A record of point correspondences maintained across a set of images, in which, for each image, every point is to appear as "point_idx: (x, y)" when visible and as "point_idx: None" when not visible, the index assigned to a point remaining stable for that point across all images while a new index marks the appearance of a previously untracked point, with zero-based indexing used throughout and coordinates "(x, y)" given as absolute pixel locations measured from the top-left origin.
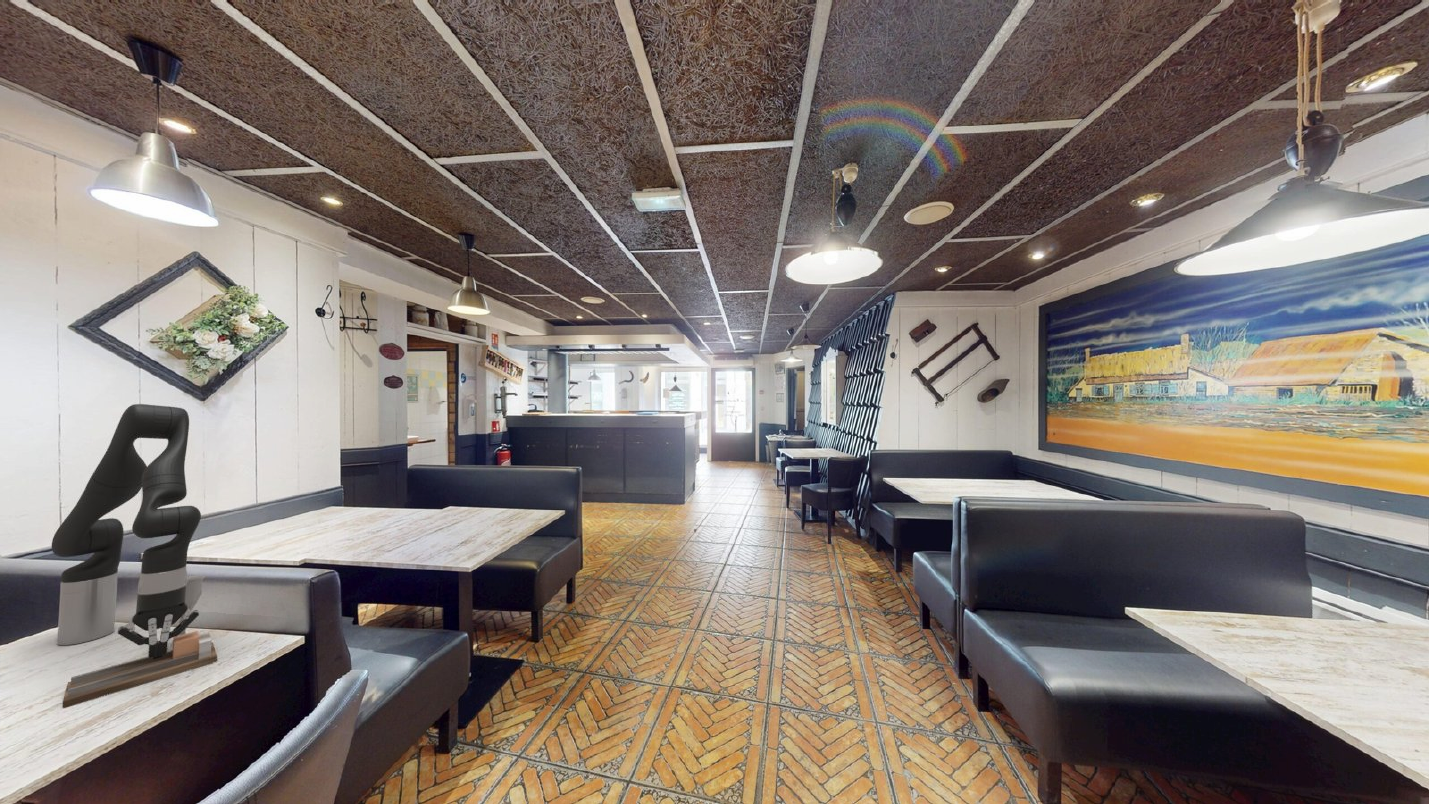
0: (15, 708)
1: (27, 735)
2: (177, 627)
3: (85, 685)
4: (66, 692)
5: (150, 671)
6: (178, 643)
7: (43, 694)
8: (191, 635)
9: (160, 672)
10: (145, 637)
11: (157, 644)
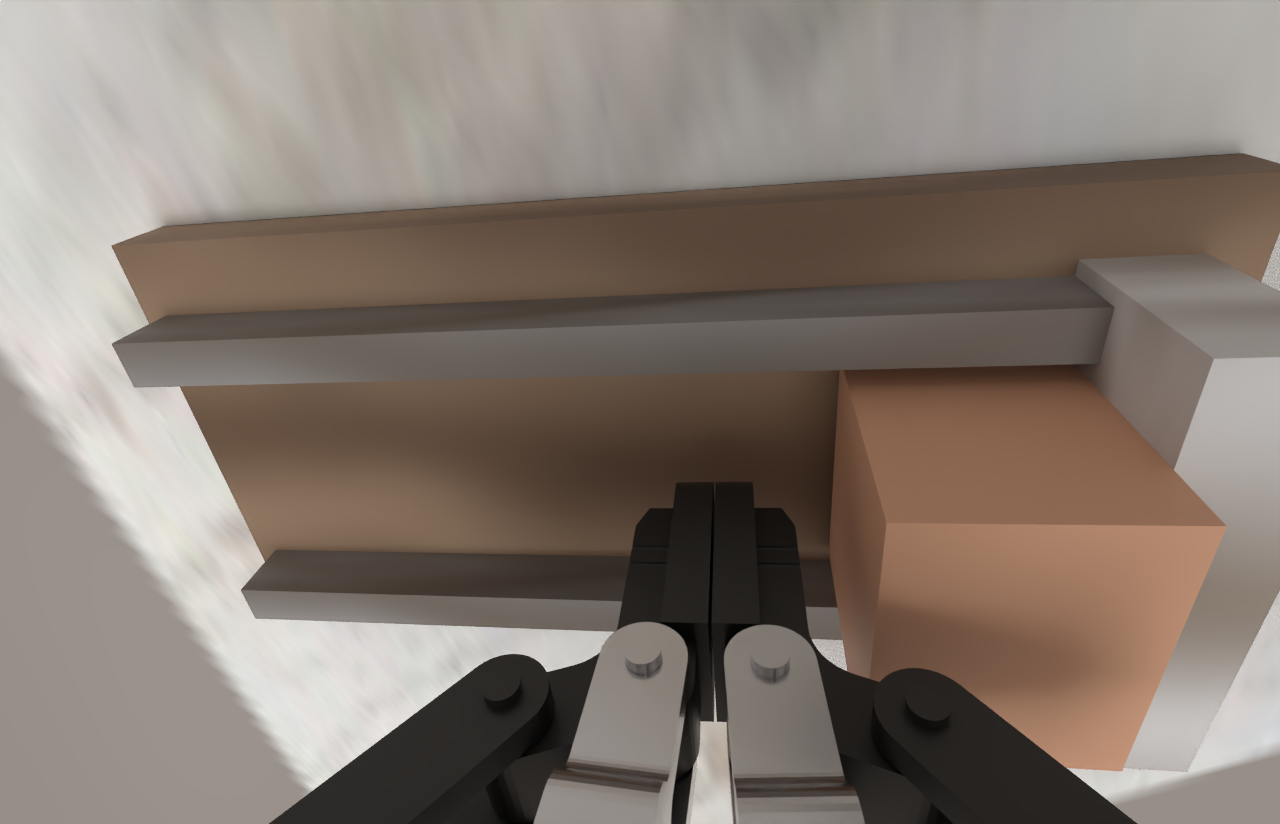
0: (13, 348)
1: (314, 743)
2: (969, 816)
3: (331, 619)
4: (236, 492)
5: None
6: None
7: (34, 199)
8: (1080, 658)
9: None
10: (545, 759)
11: (704, 718)
